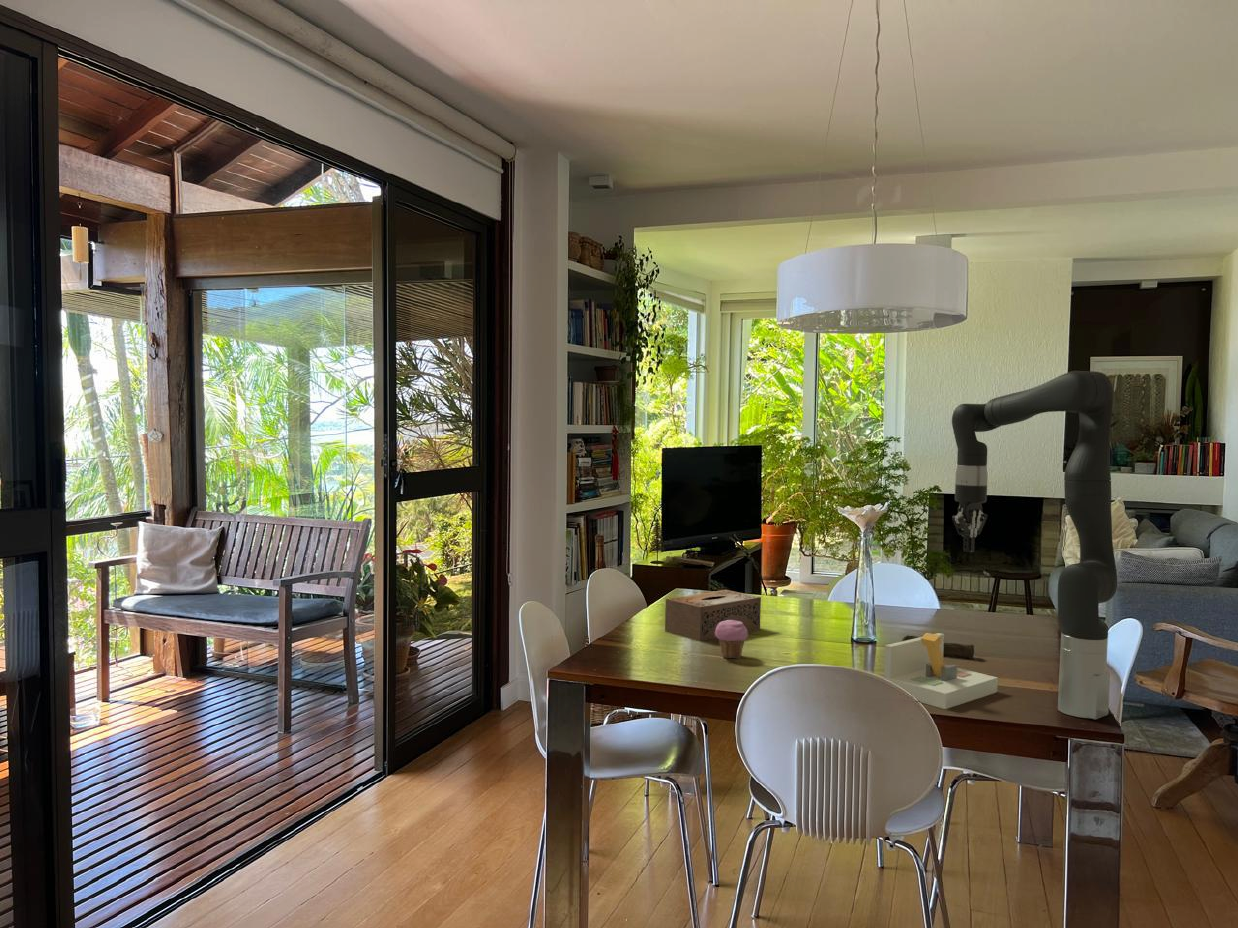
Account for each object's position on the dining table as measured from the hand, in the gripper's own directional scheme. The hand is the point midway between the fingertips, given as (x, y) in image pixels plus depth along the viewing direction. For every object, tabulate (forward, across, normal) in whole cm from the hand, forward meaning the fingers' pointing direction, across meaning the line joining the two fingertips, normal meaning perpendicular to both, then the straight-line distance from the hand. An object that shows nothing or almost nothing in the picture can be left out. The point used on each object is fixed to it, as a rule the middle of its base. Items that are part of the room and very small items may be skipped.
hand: (968, 551), depth 234 cm
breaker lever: (+27, -20, -6) cm, 35 cm away
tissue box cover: (+31, -20, +70) cm, 79 cm away
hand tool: (+31, +10, +14) cm, 36 cm away
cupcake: (+31, -38, +45) cm, 67 cm away
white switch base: (+31, -20, -6) cm, 37 cm away
